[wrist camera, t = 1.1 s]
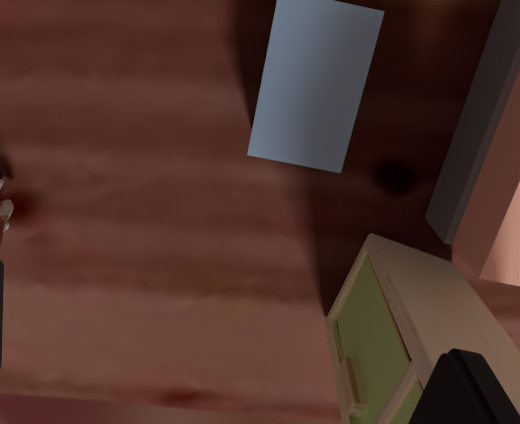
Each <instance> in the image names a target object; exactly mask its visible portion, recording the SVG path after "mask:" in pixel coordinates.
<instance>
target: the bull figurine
mask: <svg viewBox="0 0 520 424" xmlns="http://www.w3.org/2000/svg"><path fill="white" fill-rule="evenodd" d="M3 183H4V180H1V179H0V189H1V187H2V185H3ZM13 208H14V207H13V205H12V202H11V201H10V200H8V199H7V200H5V201H2V202H1V201H0V245H1V242H2V238H3V232H4V231H5V230H7V229H8V227H9V223H7V220H8V219H9V217H10V215H11V213H12V210H13Z"/></svg>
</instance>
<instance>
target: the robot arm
mask: <svg viewBox="0 0 520 424" xmlns="http://www.w3.org/2000/svg"><path fill="white" fill-rule="evenodd" d="M3 280H4V265H3V262H2V261H0V368H1V360H2V320H3ZM408 424H520V415H519V413H518V411H517V410H516V408H515V407H514V405H513V403H512V402H511V400H510V398H509V397H508V395H507V394H506V392H505V390H504V389H503V387H502V385H501V384H500V382H499V381H498V379H497V377H496V376H495V374H494V372H493V371H492V369H491V368H490V366H489V364H488V363H487V361H486V360H485V358H484V357H483V356H482V354H479V353H476V352H471V351H466V350H461V349H456V348H454V349H451V350H450V351H449V352H448V353H443V354H442V355H440V357H439V359H438V361H437V363H436V365H435V367H434V369H433V372H432V374H431V376H430V378H429V380H428V382H427V384H426V386H425V389H424V391H423V393H422V395H421V397H420V399H419V401H418V403H417V406H416V408H415V410H414V412H413V414H412V416H411V418H410V420H409V423H408Z"/></svg>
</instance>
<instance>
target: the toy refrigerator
mask: <svg viewBox="0 0 520 424" xmlns="http://www.w3.org/2000/svg"><path fill="white" fill-rule="evenodd" d="M325 326H326V331H327V337H328V343H329V348H330V354H331V360H332V365H333V372H334V377H335V383H336V389H337V395H338V401H339V406H340V412H341V419H342V424H408V423H409V420H410V418H411V416H412V414H413V412H414V410H415V408H416V406H417V403H418V401H419V399H420V397H421V395H422V393H423V391H424V389H425V386H426V384H427V382H428V380H429V378H430V376H431V374H432V372H433V369H434V367H435V365H436V363H437V361H438V359H439V357H440V355H442V354H443V353H448V352H449V351H450V350H451V349H454V348H456V349H461V350H466V351H471V352H476V353H479V354H482V356H483V357H484V358H485V360H486V361H487V363H488V364H489V366H490V368H491V369H492V371H493V372H494V374H495V376H496V377H497V379H498V381H499V382H500V384H501V385H502V387H503V389H504V390H505V392H506V394H507V395H508V397H509V398H510V400H511V402H512V403H513V405H514V407H515V408H516V410H517V411H518V413H519V415H520V350H519V349H518V347H517V346H516V345H515V343H514V342H513V341H512V339H511V338H510V337H509V336H508V334H507V333H506V332H505V330H504V329H503V328H502V326H501V325H500V324H499V322H498V321H497V320H496V318H495V317H494V316H493V315H492V313H491V312H490V311H489V309H488V308H487V307H486V305H485V304H484V303H483V301H482V300H481V299H480V297H479V296H478V295H477V294H476V292H475V291H474V290H473V288H472V287H471V286H470V284H469V283H468V282H467V280H466V279H465V278H464V276H463V275H462V274H461V273H460V271H459V270H458V269H457V267H456V266H455V265H454V264H453V263H451V262H449V261H447V260H444V259H441V258H439V257H436V256H433V255H430V254H428V253H425V252H422V251H420V250H417V249H414V248H411V247H409V246H406V245H403V244H401V243H398V242H395V241H392V240H389V239H387V238H384V237H381V236H378V235H376V234H373V233H370V234H369V235H368V237H367V238H366V240H365V242H364V244H363V246H362V248H361V250H360V252H359V254H358V256H357V258H356V260H355V262H354V264H353V266H352V268H351V270H350V272H349V274H348V276H347V278H346V280H345V282H344V284H343V286H342V288H341V290H340V292H339V294H338V296H337V298H336V300H335V302H334V304H333V306H332V308H331V310H330V311H329V314H328V316H327V318H326V322H325Z"/></svg>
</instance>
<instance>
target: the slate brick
mask: <svg viewBox="0 0 520 424" xmlns="http://www.w3.org/2000/svg"><path fill="white" fill-rule="evenodd" d="M384 12H385V11H380V10H376V9H371V8H366V7H362V6H357V5H352V4H348V3H343V2H339V1H334V0H277V3H276V8H275V13H274V18H273V23H272V29H271V34H270V39H269V44H268V50H267V55H266V60H265V65H264V70H263V76H262V81H261V86H260V91H259V96H258V102H257V107H256V112H255V117H254V123H253V128H252V133H251V138H250V144H249V149H248V154H247V155H250V156H255V157H261V158H266V159H271V160H276V161H281V162H286V163H291V164H296V165H301V166H306V167H311V168H316V169H321V170H326V171H332V172H337V173H341V171H342V167H343V163H344V160H345V156H346V152H347V148H348V145H349V141H350V137H351V134H352V130H353V126H354V123H355V119H356V115H357V112H358V108H359V104H360V101H361V97H362V93H363V89H364V86H365V82H366V78H367V75H368V71H369V67H370V64H371V60H372V56H373V53H374V49H375V45H376V42H377V38H378V34H379V31H380V27H381V23H382V19H383V16H384Z"/></svg>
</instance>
